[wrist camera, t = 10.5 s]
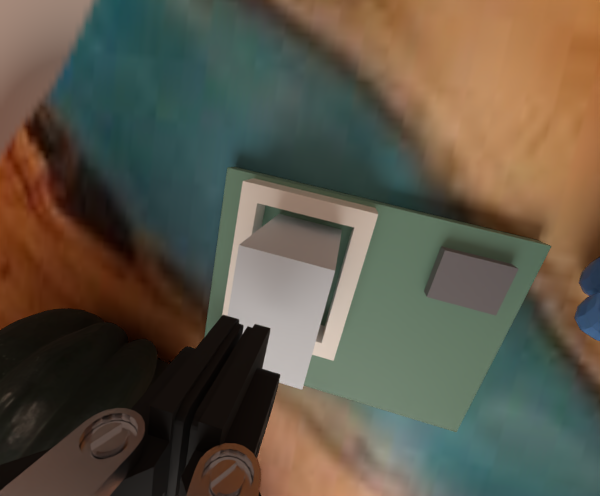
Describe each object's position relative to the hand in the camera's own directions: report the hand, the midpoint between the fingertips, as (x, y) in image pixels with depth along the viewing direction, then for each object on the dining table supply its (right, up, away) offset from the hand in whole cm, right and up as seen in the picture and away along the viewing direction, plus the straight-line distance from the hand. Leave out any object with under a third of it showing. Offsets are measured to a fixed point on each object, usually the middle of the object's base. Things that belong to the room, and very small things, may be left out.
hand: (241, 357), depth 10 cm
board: (+5, 0, +11) cm, 12 cm away
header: (+2, +3, +9) cm, 10 cm away
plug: (+2, +3, +9) cm, 10 cm away
